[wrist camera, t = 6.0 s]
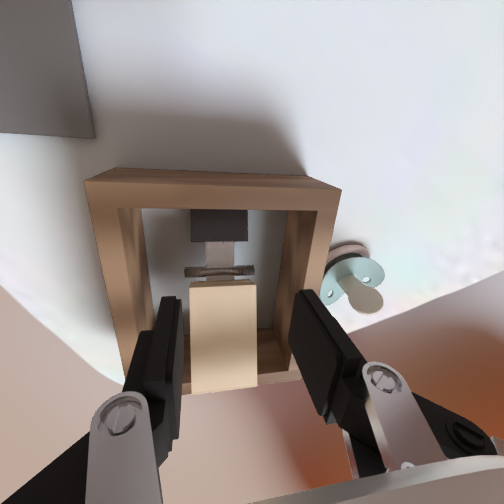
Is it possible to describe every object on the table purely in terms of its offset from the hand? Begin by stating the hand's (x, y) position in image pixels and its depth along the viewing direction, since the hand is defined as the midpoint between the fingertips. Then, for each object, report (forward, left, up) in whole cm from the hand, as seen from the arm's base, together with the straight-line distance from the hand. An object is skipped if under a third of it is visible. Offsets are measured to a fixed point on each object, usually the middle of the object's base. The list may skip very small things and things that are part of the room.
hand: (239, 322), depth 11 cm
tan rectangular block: (+8, 0, -9) cm, 12 cm away
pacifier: (+5, +14, -14) cm, 20 cm away
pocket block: (+5, 0, -13) cm, 14 cm away
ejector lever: (+5, 0, -11) cm, 12 cm away
